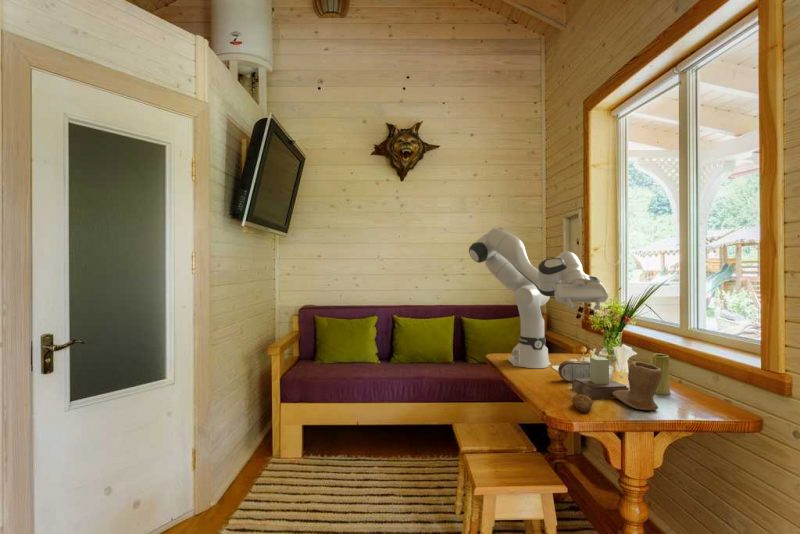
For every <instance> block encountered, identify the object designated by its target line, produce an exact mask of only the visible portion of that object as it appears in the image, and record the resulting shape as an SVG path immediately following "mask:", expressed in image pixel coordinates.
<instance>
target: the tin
mask: <svg viewBox="0 0 800 534" xmlns="http://www.w3.org/2000/svg"><path fill="white" fill-rule="evenodd" d="M557 372H558V375H559V377H561V379H563V380H564V381H565V382H569V383H570V382H571V383H572V380H574V378H590V361H587V360H586V361H580V360H565V361H563V362H561V363H560V364H559V366H558V369H557Z"/></svg>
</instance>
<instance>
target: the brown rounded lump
mask: <svg viewBox="0 0 800 534" xmlns="http://www.w3.org/2000/svg"><path fill="white" fill-rule="evenodd" d="M571 403H572V404H573V405H574V407H575V408H576V409H577V410H578V412H579V413H580V414H587V413H588V412H590V410H591V407H592V406H593V404H594V402H593V401H592V398H590V397H588V396H586V395H584V394H582V393H580V394H575V395H574V396H573V397H572V399H571Z"/></svg>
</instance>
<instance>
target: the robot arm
mask: <svg viewBox="0 0 800 534" xmlns="http://www.w3.org/2000/svg"><path fill="white" fill-rule="evenodd" d="M468 253H469V256H470V258H471V259H472V260H473V261H474V262H476V263H479V264H481V263H485V264H484V265H485V266H486V268H487V269H488V271H489V272H490V273H491V274H492V275H493V276H494V277H495V279H497V280H498V282H500V283H501V284H502V285H503V286H504V287H506V289H508V290H511V292H513V293H514V294H513V300H514V303H515V304H516V305H517V309H518V314H519V319H520V335H519V337H518V343H517V344H516V346H514V347H513V349H512V350H511V357H508V358H507V361H509V363H510V364H512V366H514V367H519V368H520V367H521V368H526V369H545V368H549V366H551V365H552V363H551V362H550V360H549V349H548V347H547V346H546V342H547V341H546V340H547V339H546V336H545V319H544V317H543V315H542V309H541V307H542V306H544V305H545V304H547V303H548V301H549V300H550V298H551V297H554V299H555V301H556V303H565V304H566V305H567V306H568V307H570V310H571V311H575V310H576V309H577V306H576V303H595V304H594V310H595V311H601V303H606V302H607V300H608V299H609V293H608V291H607V289H606V287H605V286H604V284H603V283H602V282H601V279H600V277H598V276H593V275H589V274H586V273H585V272H584V271H583V265H582V263H581V261H580V259H579V257H578V255H576V254H575V253H573V252H571V251H563V252H561V253H559V254H558V255H557V256H555V257H554V258H553V257H552V258H551V257H550V258H545V259H544V260H543V259H542V261H540V263H539V264H538V266H537V267H538V268H536V267H535V266H533V264H532V262H530V260H529V257H528V254H527V250H526V247H525V244H524V242H523V241H522V240H521V239H520V238H519V237H518V236H516V235H515V234H513V233H510V232H509V231H507V230H505V229H503V228H501V227H493V228H491V229H490V230H489V231H488V232H487V233H485V234H484V235H482V236H481V237H480V238H479V239H477V240H476V241H474V242H472V243H471V245H470V246H469V247H468ZM562 281H563V282H562Z"/></svg>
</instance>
